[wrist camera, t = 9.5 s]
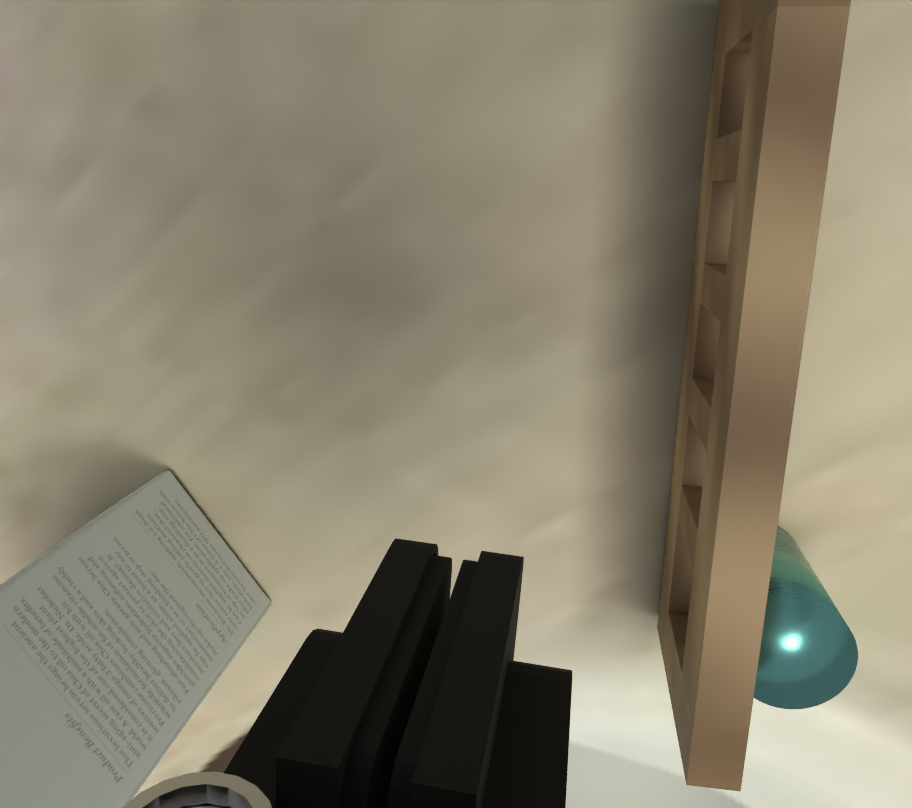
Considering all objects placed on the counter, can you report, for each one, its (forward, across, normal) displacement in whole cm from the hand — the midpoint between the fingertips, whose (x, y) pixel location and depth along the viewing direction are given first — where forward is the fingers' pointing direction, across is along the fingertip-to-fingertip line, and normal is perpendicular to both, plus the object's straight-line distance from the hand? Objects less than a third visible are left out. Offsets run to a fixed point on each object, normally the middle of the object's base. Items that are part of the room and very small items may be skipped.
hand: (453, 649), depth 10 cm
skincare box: (+14, +12, +8) cm, 20 cm away
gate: (+14, -5, -1) cm, 15 cm away
